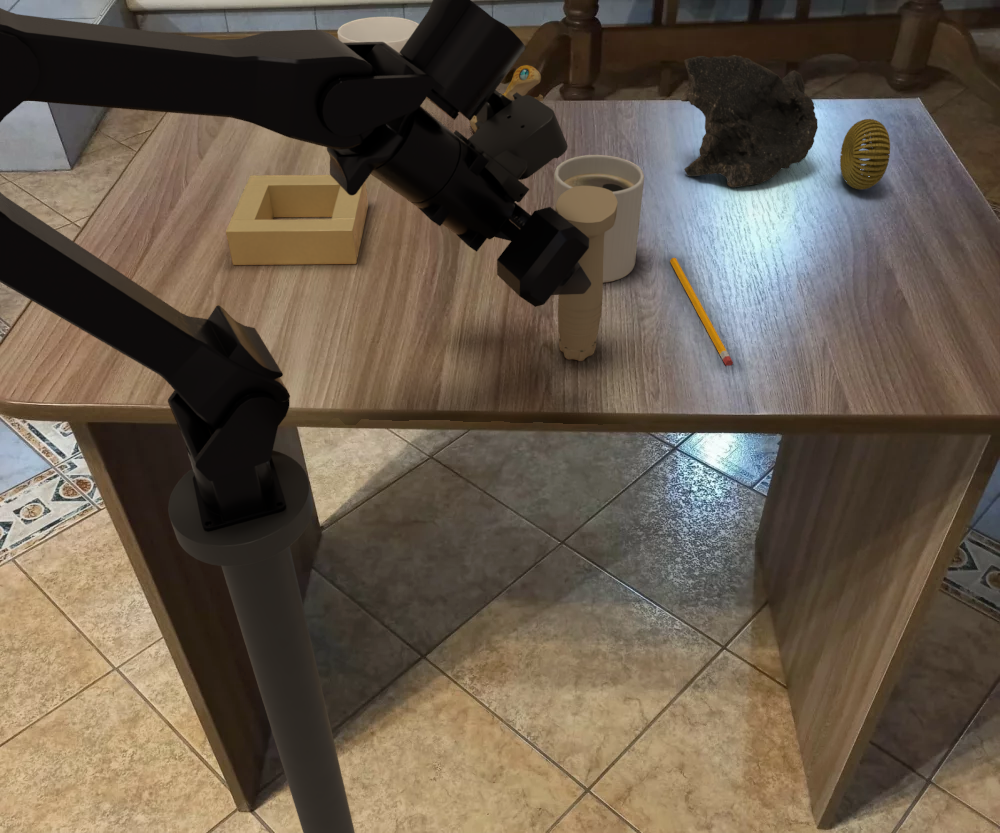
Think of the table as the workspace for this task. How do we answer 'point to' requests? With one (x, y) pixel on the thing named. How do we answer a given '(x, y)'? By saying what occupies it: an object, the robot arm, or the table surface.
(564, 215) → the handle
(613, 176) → the mug
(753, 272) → the table surface
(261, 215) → the stand
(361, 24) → the cup
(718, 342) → the pencil
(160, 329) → the robot arm
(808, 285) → the table surface
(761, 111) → the rock
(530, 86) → the toy
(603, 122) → the table surface
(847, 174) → the sculpture
